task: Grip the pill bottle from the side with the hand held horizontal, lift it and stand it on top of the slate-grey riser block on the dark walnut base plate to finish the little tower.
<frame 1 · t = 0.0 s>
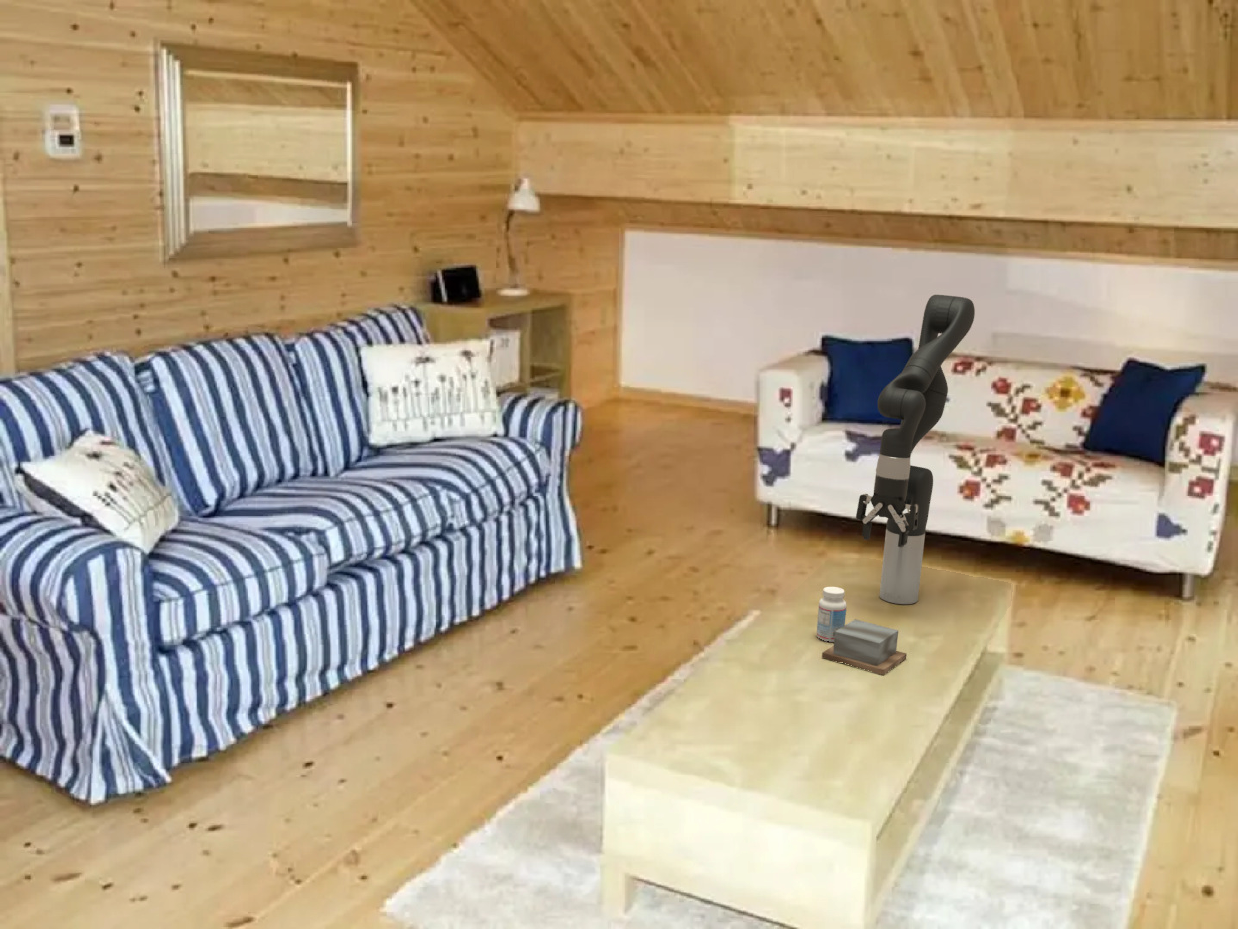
hand: (883, 542, 295), 17 cm above the table, tool pointing down, fingers open, 8 cm apart
tower base: (864, 658, 270), on the table
pill bottle: (829, 638, 281), on the table
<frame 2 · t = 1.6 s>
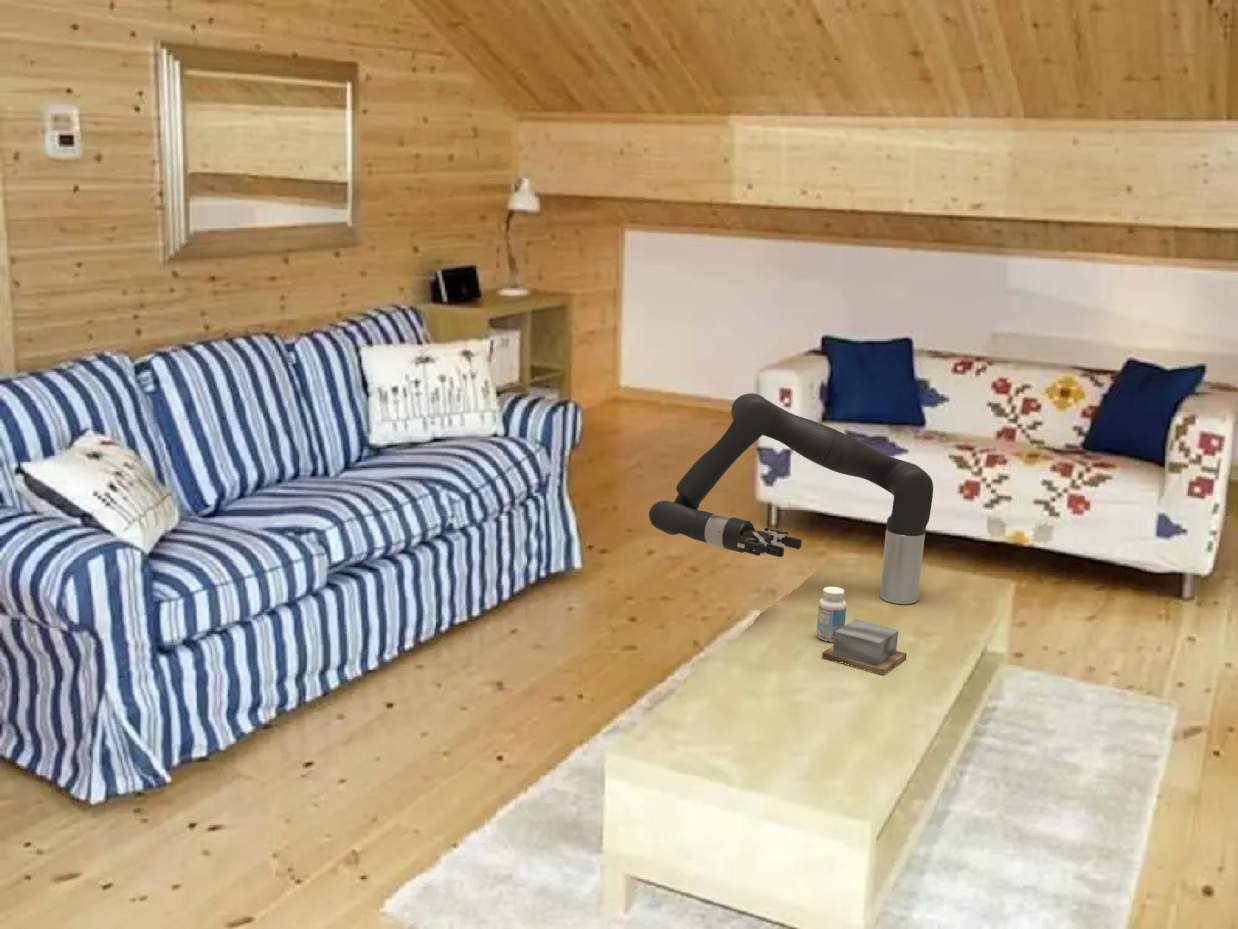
hand: (792, 548, 283), 18 cm above the table, tool horizontal, fingers open, 8 cm apart
nothing on the table moved.
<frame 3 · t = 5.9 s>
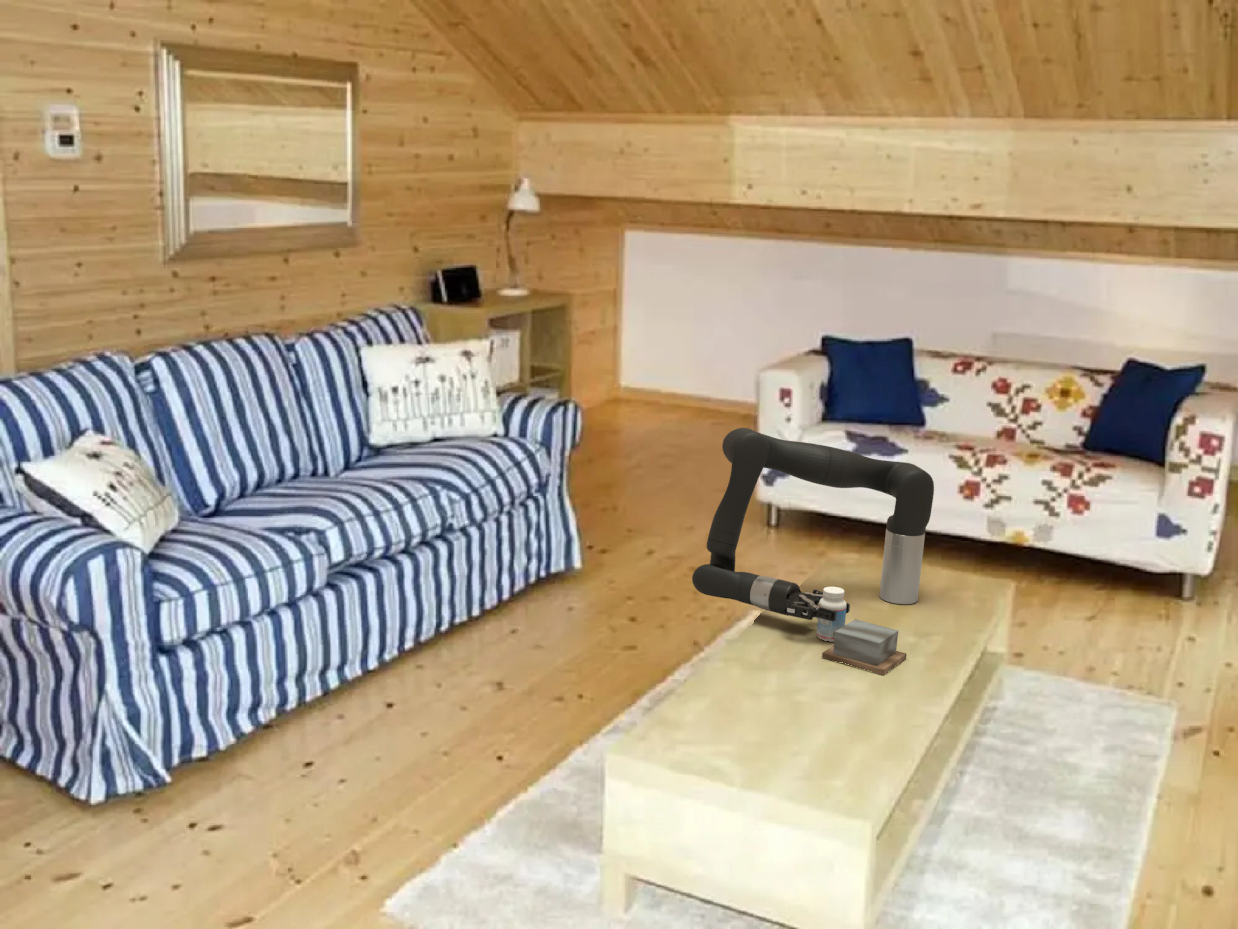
hand: (842, 612, 278), 7 cm above the table, tool horizontal, fingers closed on pill bottle, 6 cm apart
pill bottle: (829, 638, 281), on the table, touching gripper
when the fingers open (13 cm above the table, at t = 9.8 s): pill bottle stays where it is, resting on tower base.
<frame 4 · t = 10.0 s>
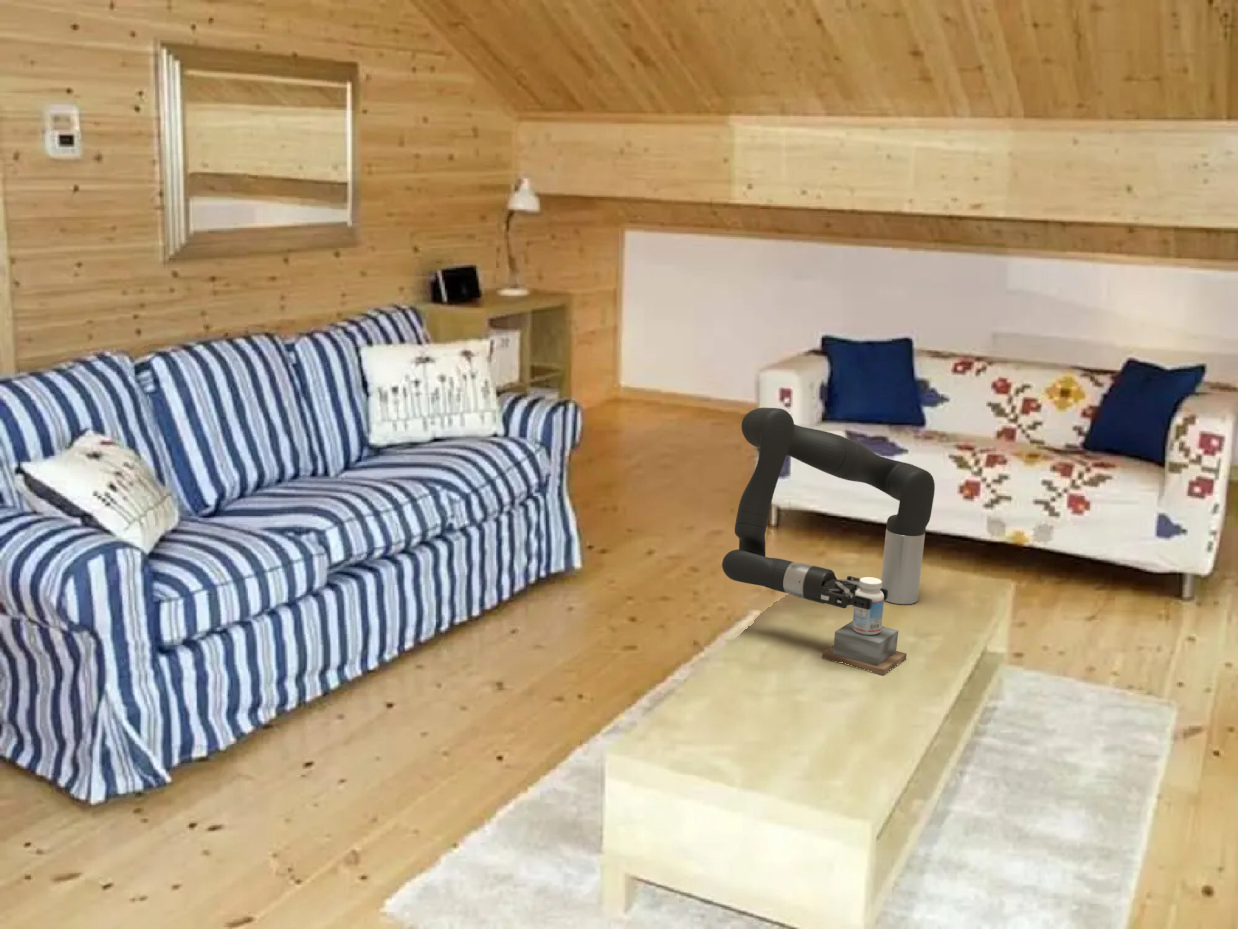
hand: (879, 599, 266), 14 cm above the table, tool horizontal, fingers open, 7 cm apart
pill bottle: (866, 631, 269), point 6 cm above the table, touching tower base
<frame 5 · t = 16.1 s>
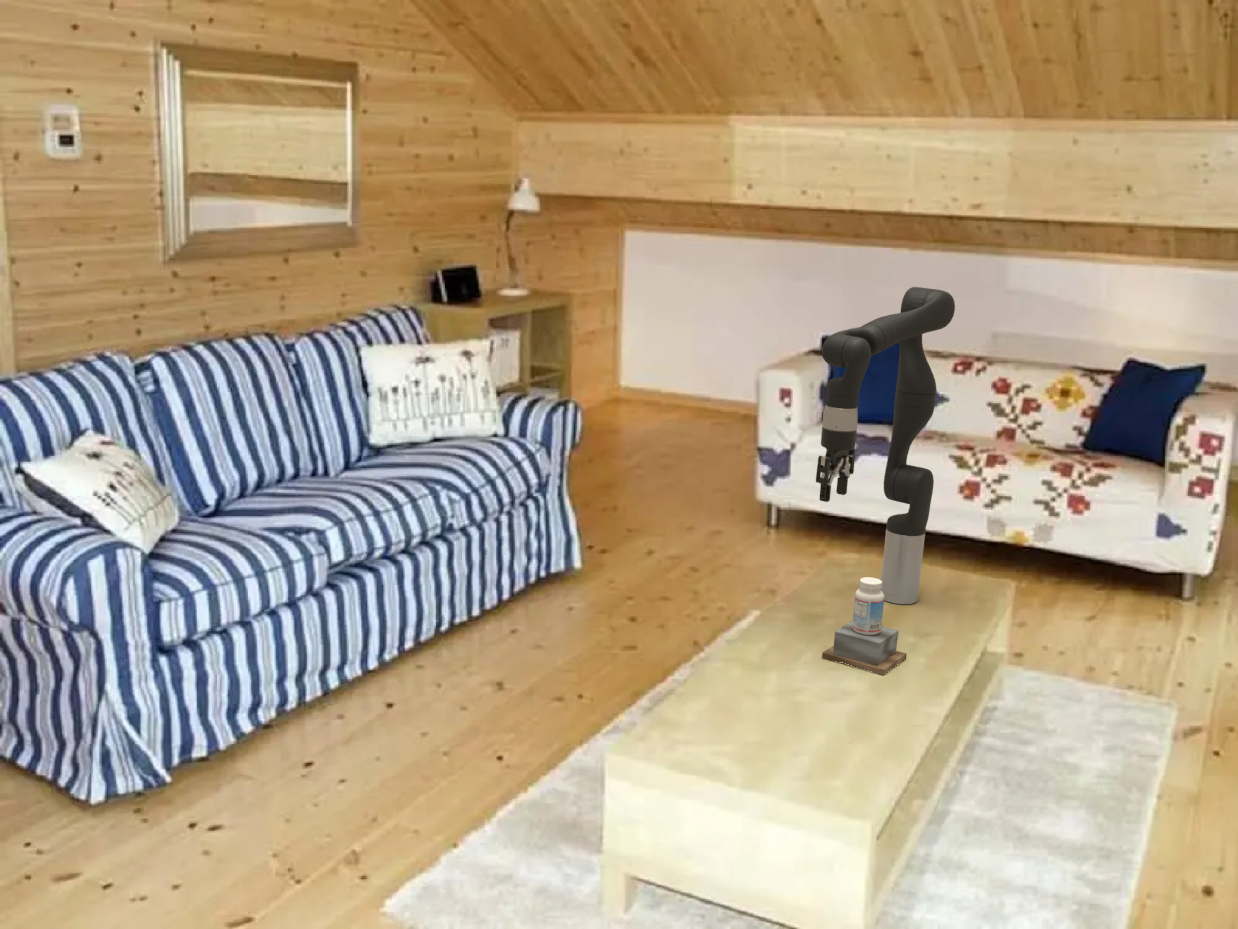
hand: (833, 497, 282), 30 cm above the table, tool pointing down, fingers open, 8 cm apart
nothing on the table moved.
at the end: pill bottle 0.1 cm off-centre on the tower base, point 6.0 cm above the tower base's base; pill bottle tilted 0°; the gripper is holding nothing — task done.
